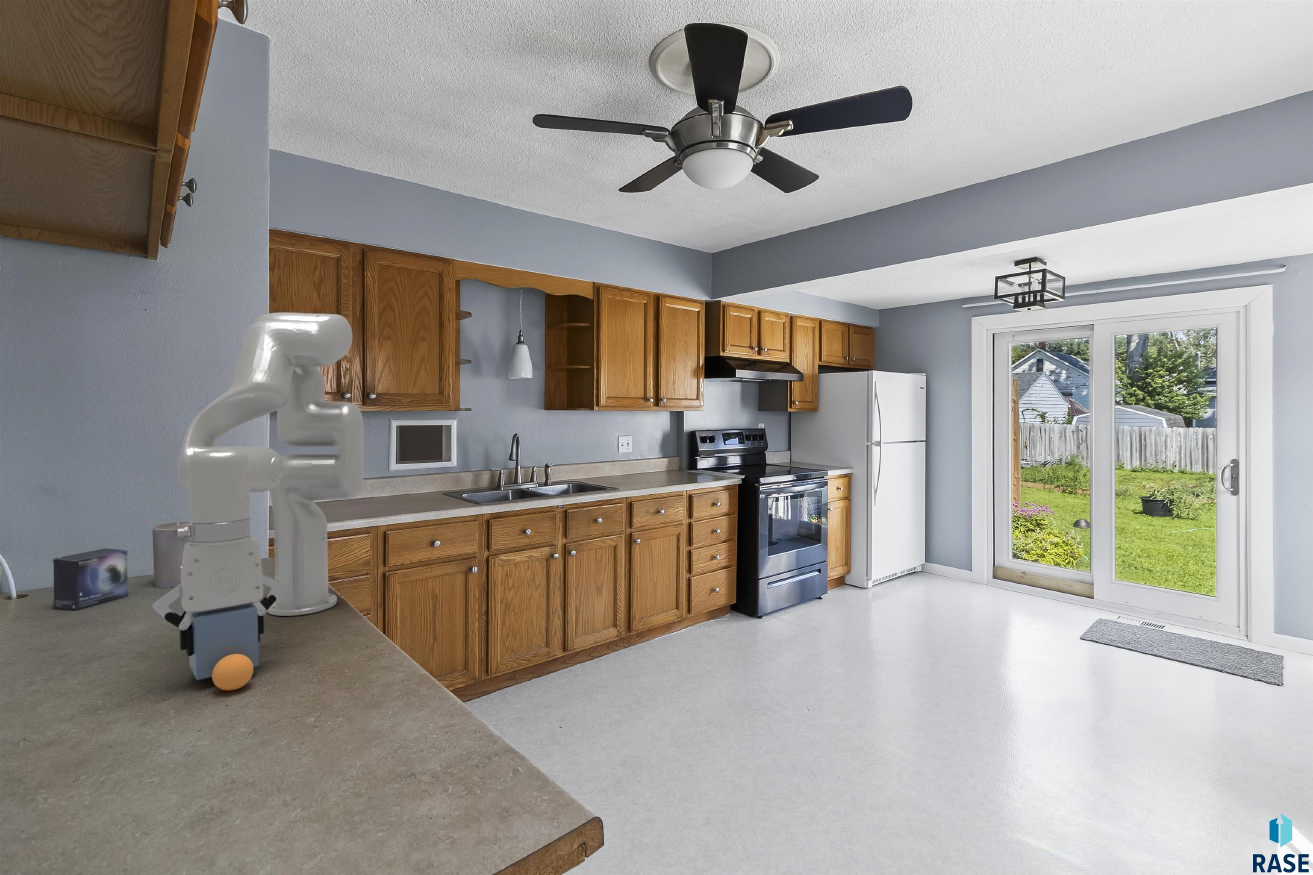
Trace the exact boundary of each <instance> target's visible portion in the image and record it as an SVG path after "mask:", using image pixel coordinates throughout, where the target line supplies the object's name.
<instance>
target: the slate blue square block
mask: <svg viewBox="0 0 1313 875" xmlns="http://www.w3.org/2000/svg"><path fill="white" fill-rule="evenodd" d="M191 627H192V629H193V648H194V654H193V655H192V656H188V658H189V659H188V660H189V667H190V669H191V671H192V673H193V676H194V678H195V681H200V680H203V679H208V678H212V672H213V669H214V667H215V665H216V664H217V663H218V662H219V661H220V660H221V659H222V658H224V657H226V656H228V655H232V654H242V655H245V656H247V657H248V658H249V659H250V660H251V661H252V663H253V668H255V667H259V665H260V664H259V662H260V661H259V642H258V611H257V608H256V607H255V605H251V606H250V604H248V605H243V606H238V607H232V608H226V609H220V610H215V611H209V612H202V613H197V615H193V621H192V622H191Z"/></svg>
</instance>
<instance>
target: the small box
mask: <svg viewBox="0 0 1313 875" xmlns="http://www.w3.org/2000/svg"><path fill="white" fill-rule="evenodd" d="M52 563H53V607H52V608H53V609H60V610H68V611H69V610H70V611H79V610H83V609H86V608H91V607H94V606H98V605H102V604H105V603H108V602H112V601H116V600H120V599H124V598H128V597H129V592H128V591H129V588H128V587H129V584H128V582H129V581H128V580H129V579H128V550H126V549H116V548H107V547H106V548H101V549H96V550H95V549H94V550H90V551H85V552H84V551H83V552H80V553H76V554H70V555H65V556H59V557H54V558H52Z"/></svg>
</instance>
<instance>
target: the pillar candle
mask: <svg viewBox="0 0 1313 875" xmlns="http://www.w3.org/2000/svg"><path fill="white" fill-rule="evenodd" d="M189 522H190V521H182V522H181V521H180V519H178V520H177V522H170V523H163V524H158V525H154V526H153V527H152V529H151V530H152V551H153V552H152V553H153V554H152V555H153V556H152V557H153V576H154V578H153V579H154V580H153V581H154V583H153V584H154V587H155V588H161V589H174V588H175V587H177V586H178V585H179V584H180V574H181V564H182V556H183V551H184V546H185V544H186V543H189V542H190V539H188V538H187V537H186V538H184V537H178V533H177V530H178V528H184V527H187V525H189Z"/></svg>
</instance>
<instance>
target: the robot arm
mask: <svg viewBox="0 0 1313 875" xmlns="http://www.w3.org/2000/svg"><path fill="white" fill-rule="evenodd" d="M352 343H353V331H352V326H351V325H350V323H349V321H348V320H347V318H346V317H344V316H343V315H340V314H336V313H335V314H334V313H333V314H332V313H305V312H270V313H265V314H263V315H260V316H259V317H257V319H256V320H255V322H254V323H252V324H251V325H250V326H248V327H247V330H246V332H245V334H244V338H243V341H242V345H241V349H240V353H239V357H238V360H237V364H236V368H235V372H234V375H233V380H232V384H231V387H230V388H229V390H227V391H226V392H225V393H223V394H221V395H220V396H219V397H217V398H216V399H214V400H212V401H211V402H210V403H209V404H208V405H207V406H206V407H204V408H203V409H202V410H201V411H200V412H199V413H198V414H197V415H195V417H194V418H193V420H192V421H191V422H190V424H189V425H188V427H187V429H186V431H185V434H184V438H183V441H182V443H181V447H180V452H179V456H178V461H177V466H176V467H177V468H176V469H177V471H176V473H177V480H178V482H179V484H180V485H181V487H182V488H184V489H185V490H186V491H188V509H189V510H188V511H189V521H188V522H189V525H187V527H184V528H178V530H177V533H178V537H184V538H186V537H187V538H188V539H190V542H189V543H186V544H185V546H184V551H183V556H182V564H181V574H180V584H179V585H178V586H177V587H173V588H171V590H170V591H168V592H167V593H166V594H164V595H163V596H162V597H160V598H159V599H157V600H155V601H154V602H153V604H152V609H153V610H154V611H155V612H156V613H157V614H158V615H159V616H160V617H162V618H163V619H164V620H165V621H166V622H168V623H169V624H171V625H173V626H175V627H176V628H178V629H179V648H180V651H185V653H186V655H187V657H189V656H192V655H193V654H194V648H193V629H192V627H191V622H192V621H193V615H197V613H202V612H209V611H215V610H220V609H226V608H232V607H238V606H243V605H248V604H250V606H251V605H255V607H256V608H257V611H258V643H259V642H261V635H263V634H264V633H265V620H264V618H265V617H264V615H266V614H267V613H268V614H270V615H273V616H279V617H281V616H282V617H293V616H302V615H303V616H304V615H308V614H314V613H319V612H323V611H325V610H328V609H330V608H332V607H334V606H335V605H336V604H337V603H338V597H337V595H335V594H332V593H329V561H328V560H329V559H328V557H329V556H328V521H327V517H326V515H325V514H324V512H323V511H322V509H321V508H320V507H319V506H318V505H317V503H315V501H326V500H327V501H341V500H351V499H355V498H357V497H358V496H359V495H360V494H361V492H362V490H363V485H364V477H365V476H364V474H365V473H364V471H365V469H364V468H365V467H364V465H365V464H364V461H365V460H364V458H365V455H364V454H365V450H364V449H365V429H364V427H365V424H364V420H363V419H364V418H363V414H362V412H361V410H360V408H359V407H358V406H357V405H356V404H354V403H353V402H350V401H349V402H348V401H326V399H325V392H326V391H325V386H326V385H325V383H326V382H325V377H324V374H323V373H322V372H321V370H320V369H319V368H318V367H320V368H321V367H328V366H331V365H333V364H335V363H336V362H338V361H339V360H341V359H342V358H343V357H345V356H346V355H347V354H348V352H349V351H350V350H351V347H352V345H353V344H352ZM274 412H277V414H276V415H277V416H276V419H277V420H276V429H277V436H278V439H279V441H280V442H281V443H282V444H283V445H285V446H288V447H291V448H292V447H293V448H335V449H336V450H337V453H295V454H294V453H293V454H286V455H280V454H279V453H278V452H277V451H276V450H275V449H273V448H269V447H265V446H238V445H237V446H235V445H234V446H230V445H229V446H216V445H217V443H218V442H219V440H220V439H221V438H222V437H223V436H225V434H227V433H228V432H230V430H232V429H234V428H236V427H238V426H240V425H241V426H242V424H245V423H248V422H251V421H254V420H255V419H258V418H262V417H264V416H266V415H269V414H272V413H274ZM267 491H269V494H270V499H271V505H272V513H273V516H272V517H273V533H274V534H273V536H274V537H273V539H274V542H273V543H274V544H273V545H274V546H273V547H274V578H273V577H271V576H268V575H266V574H264V573H263V566H262V558H261V551H260V547H259V542H258V539H257V537H255V536H251V519H250V518H251V516H250V515H251V514H250V511H251V510H250V509H251V508H250V494H251V493H263V492H267ZM264 585H265V586H267V587H269V588H270V591H269V593H267V595H266V596H265V597H263V596H264ZM177 599H179V600H180V604H181V606H182V609H183V611H182V612H181V614H180V615H179V614H178V613H176V612H175V611H173V610H172V609H171V608H170V607H169V606H170V605H171V604H172V603H173V602H175V601H176V600H177ZM260 600H261V601H260Z"/></svg>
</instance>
